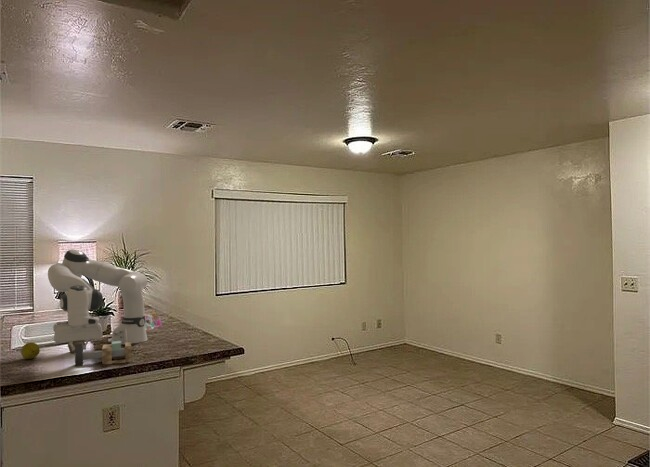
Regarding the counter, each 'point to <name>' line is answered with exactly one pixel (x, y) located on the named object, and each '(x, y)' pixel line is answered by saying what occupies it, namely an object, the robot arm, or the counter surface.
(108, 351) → the bearing block
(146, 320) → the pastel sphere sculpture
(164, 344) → the counter surface
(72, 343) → the squeeze bottle
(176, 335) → the counter surface
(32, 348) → the lemon
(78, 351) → the grey mallet
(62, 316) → the counter surface
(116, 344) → the spacer
